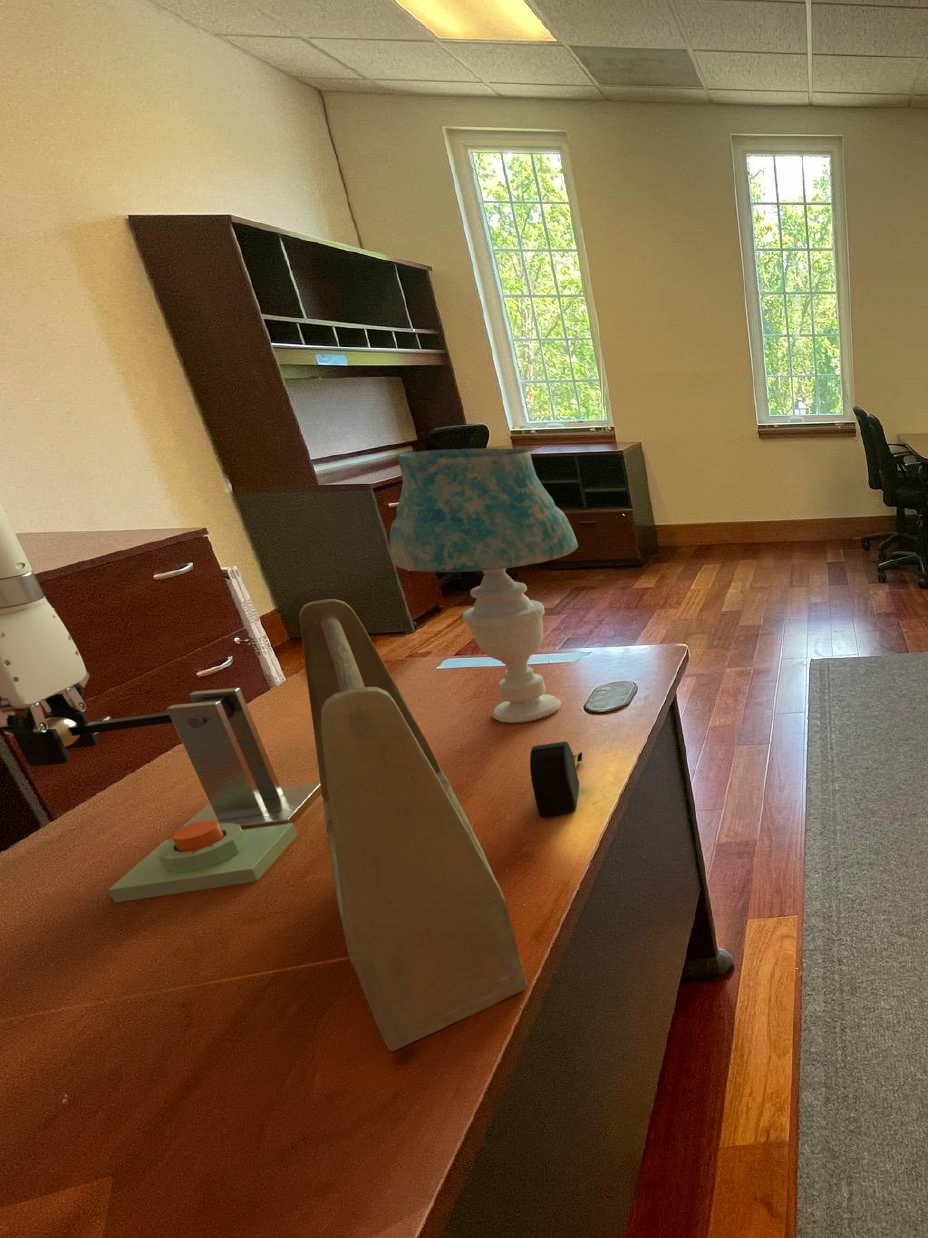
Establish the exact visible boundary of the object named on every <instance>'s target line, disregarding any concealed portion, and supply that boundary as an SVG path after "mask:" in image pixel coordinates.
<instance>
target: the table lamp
mask: <svg viewBox="0 0 928 1238" xmlns="http://www.w3.org/2000/svg"><path fill="white" fill-rule="evenodd" d="M397 461H398V465H399V468H400V473H401V480H402V485H401V493H400V496H399V500H398V504H397V506H396V517H395V519H394V520H393V522H392V523H391V526H390V530H389V553H390V559H391V562H392V565H394V566H396V567H397V568H399V569H403V570H405V571H414V572H421V573H422V572H423V573H466V572H482V573H483V574H484V575H483V577H482V579H481V582H480V585H478V586H475V587H473V588H472V589H470V592H469V593H470V594H469V595H470V597H472V598H473V599H476V600H475V601H474V604H473V606H471V607H470V608H468V609H466V610H464V611H463V613H462V621H463V623H464V624H465V625H466V626H468V627H469V629H470V631H471V633H472V636H473V639H474V641H475V643H476V645H477V646H478V647H479V649H480V650H481V651H482V652H483V653H484V654H485V655H486V656H488V657H490V658H491V659H494V660H497V661H498V662H501V664H503V665H505V667H506V670H505V671H504V673H503V676H504V678H503V679H501V680H500V681H499V682H498V684H497V685H498V690H499V695H500V698H501V699H502V700H503V702H501V703H500V704H497V706H496V707H495V708H494V710H493V712H492V713H491V714H492V717H493V719H494V720H496V721H498V722H501V723H506V724H525V723H530V722H536V721H539V720H541V719H545V718H546V717H545V716H547V717H549V716H551V715H553V714H554V713H556V712H557V711H558V709H560V707H561V706H562V701H561V700H560V699H559V698H558V697H556V696H555V695H552V694H545V693H546V685H545V681H544V678H543V676H542V675H541V674H539V673H534V669H533V668H532V667H531V666H529V665H528V664H529V660H530V658H531V656H533V655H534V654H535V653H536V652H537V651H538V649H539V648H540V646H541V644H542V642H543V639H544V638H543V637H544V628H543V627H544V625H543V616H544V615H545V613H546V611H545V607H544V604H543V603H542V602H540V601H538V600H534V599H530V598H529V597H528V596H527V595H525V592H527V591H528V586H527V585H526V584H525V583H524V582H521V581H519V582H518V581H515V580H514V579H512V578H511V576H510V575H508V573H506V571H507V569H510V568H517V567H524V566H529V565H530V566H531V565H536V564H540V563H545V562H550V561H553V560H556V559H560V558H563V557H566V556H568V555H570V554H572V553H573V552H575V551H576V550H577V549H578V547H579V543H578V540H577V538H576V535H575V532H574V530H573V528H572V526H571V523H570V522H569V519H568V517H567V516H566V515H565V513H564V511H563V510H561V509H560V507H558V506H557V505H556V504H555V501H554V499H553V497H552V496H551V495H550V494H549V492H548V491H547V490H546V489H545V487H544V486H543V484H542V482H541V481H540V479H539V477H538V476H537V473H536V469H535V467H534V464H533V460H532V455H531V453H530V451H529V450H527V449H520V448H496V447H495V448H454V449H453V448H452V449H451V448H450V449H433V450H422V451H421V450H419V451H412V452H405V453H404V452H403V453H399V454H398V460H397ZM556 710H557V711H556ZM555 711H556V712H555ZM550 714H551V715H550ZM543 717H544V718H543ZM540 718H541V719H540ZM537 719H538V720H537ZM533 720H534V721H533Z"/></svg>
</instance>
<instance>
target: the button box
mask: <svg viewBox="0 0 928 1238" xmlns="http://www.w3.org/2000/svg"><path fill="white" fill-rule="evenodd" d="M219 826H220V828H221V830H222V832H223V835H224V837H223V838H222V839H221V840H220V841H218V842H216V843H214V844H212V845H210V846H207V847H204V848H201V849H198V850H194V851H187V852H180V851H179V850H178V848H177V846H176V844H175V842H174V840H173V838H171V839H165V840H163V841H162V842H161V843H160V844H159V845H158V846H157V847H155V848H154V849H153V850H152V851H151V852H150V853H148V854H147V855H146V856H145V857H144V858H143V859H142V860H140V861H139V862H138V863H136V865H135V866H133V867H132V868H131V869H130V870H129V871H128V872H127V873H126V874H124V875H123V876H122V877H121V878H120V879H118V881H116V882H115V883H114V884H113V885H112V886H111V887H109V888H108V893H109V894H110V897H111V898H112V900H113V902H114V903H122V902H129V901H136V900H142V899H150V898H155V897H163V896H169V895H176V894H183V893H189V892H195V891H202V890H208V889H216V888H222V887H229V886H235V885H241V884H248V883H255V882H256V883H257V882H258V881H259V880H260V879H261V878H262V877H263V876H264V874H265V873H266V872H268V870H269V869H270V867H271V866H273V864H274V863H275V862H276V861H277V859H278V858H279V857H280V856H281V855H282V854H283V853H284V851H286V849H287V848H288V846H289V845H291V843H292V842H293V841H294V840H295V839H296V838H297V836H298V833H297V830H296V827H295V824H294V825H293V823H290V824H283V825H275V826H268V827H260V828H253V829H245V830H242V829H241V827H240V825H237V824H231V823H222V824H219Z"/></svg>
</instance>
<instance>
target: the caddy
mask: <svg viewBox="0 0 928 1238" xmlns="http://www.w3.org/2000/svg"><path fill="white" fill-rule="evenodd" d="M299 623H300V632H301V640H302V648H303V649H302V650H303V656H304V666H305V674H306V682H307V683H306V684H307V687H308V688H307V691H308V698H309V704H310V712H311V719H312V726H313V727H312V729H313V735H314V736H313V737H314V743H315V750H316V760H317V766H318V767H317V768H318V775H319V783H320V784H321V797H322V799H323V800H322V803H323V804H322V805H323V811H324V821H325V828H326V829H325V830H326V834H327V844H328V851H329V857H330V863H331V871H332V877H333V882H334V887H335V896H336V902H337V907H338V911H339V917H340V921H341V926H342V930H343V933H344V934H343V935H344V938H345V944H346V950H347V954H348V958H349V961H350V964H351V965H352V967H353V969H354V971H355V974H356V976H357V979H358V982H359V984H360V986H361V989H362V991H363V994H364V997H365V999H366V1001H367V1004H368V1007H369V1009H370V1012H371V1014H372V1017H373V1019H374V1021H375V1022H374V1023H375V1024H376V1026H377V1028H378V1031H379V1033H380V1036H381V1037H382V1040H383V1041H384V1043H385V1045H386V1047H387V1049H388V1051H390V1052H391V1053H393V1052H395V1051H398V1050H400V1049H402V1048H403V1047H406V1046H408V1045H409V1044H412V1043H414V1042H417V1041H418V1040H421V1039H423V1038H425V1037H428V1036H429V1035H432V1034H434V1033H436V1032H438V1031H441V1030H442V1029H445V1028H446V1027H448V1026H451V1025H452V1024H455V1023H457V1022H459V1021H462V1020H464V1019H467V1018H469V1017H472V1016H473V1015H476V1014H478V1013H480V1012H482V1011H485V1010H486V1009H489V1008H491V1007H493V1006H495V1005H496V1004H499V1003H500V1002H503V1001H504V1000H506V999H508V998H510V997H513V996H514V995H517V994H520V993H522V992H524V991H525V990H526V989H527V988H528V981H527V978H526V974H525V971H524V966H523V963H522V960H521V956H520V954H519V952H520V951H519V949H518V945H517V940H516V937H515V936H516V935H515V933H514V928H513V924H512V920H511V916H510V913H509V908H508V905H507V900H506V898H505V896H504V894H503V891H502V888H501V887H500V885H499V883H498V881H497V879H496V877H495V875H494V873H493V870H492V868H491V866H490V864H489V861H488V858H487V857H486V854H485V852H484V850H483V848H482V846H481V845H482V844H481V843H480V841H479V840H478V837H477V835H476V833H475V831H474V829H473V827H472V825H471V823H470V821H469V819H468V817H467V815H466V813H465V811H464V809H463V807H462V805H461V804H460V802H459V799H458V798H457V796H456V794H455V792H454V790H453V788H452V786H451V784H450V782H449V780H448V778H447V777H446V775H445V773H444V771H443V769H442V768H441V766H440V764H439V762H438V760H437V758H436V756H435V754H434V752H433V750H432V748H431V746H430V745H429V742H428V740H427V739H426V737H425V735H424V733H423V732H422V730H421V729H420V726H419V725H418V722H417V721H416V719H415V717H414V715H413V713H412V712H411V710H410V708H409V706H408V704H407V703H406V701H405V698H404V697H403V695H402V693H401V692H400V690H399V688H398V686H397V684H396V682H395V681H394V679H393V677H392V675H391V673H390V671H389V669H388V668H387V666H386V664H385V662H384V660H383V659H382V656H381V654H380V653H379V651H378V649H377V647H376V646H375V644H374V642H373V641H372V639H371V637H370V635H369V634H368V632H367V630H366V628H365V627H364V625H363V623H362V622H361V619H360V618H359V616H358V615H357V614H356V612H355V611H354V610H353V608H352V607H351V606H350V605H349V604H347V603H346V602H345V601H343V600H339V599H336V598H327V599H320V600H315V601H310V602H308V603H306V604H304V605H303V606H302V608H301V609H300V612H299Z"/></svg>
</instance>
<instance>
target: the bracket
mask: <svg viewBox="0 0 928 1238" xmlns="http://www.w3.org/2000/svg"><path fill="white" fill-rule="evenodd" d="M188 696H189V698H190V700H191V702H192V703H181V704H180V703H179V704H171V705H170V706H168V707H167V708H166V712H168V713H169V715H170V717H171V719H172V721H173V726H174V728H175V730H176V732H177V734H178V737H179V739H180V741H181V743H182V745H183V747H184V749H185V752H186V754H187V757H188V758H189V760H190V763H191V764H192V767H193V769H194V771H195V774H196V775H197V777H198V779H199V782H200V784H201V786H202V788H203V791H204V793H205V796H206V797H207V800H208V803H207V804H206V805H205V806H204V807H202V808H201V809H200V810H199V811H198V812H197V813H196V814H194V815H193V816H192V817H191V818H190V819H189V820H187V822H186V823H184V824H183V825H182V826H181V827H179V829H181V828H183V827H185V826H187V825H190V824H193V823H196V822H201V821H208V820H213V821H217V822H218V824H222V823H231V824H237V825H240V827H241V829H242V830H245V829H253V828H260V827H268V826H275V825H283V824H290V823H293V825H294V826H295V824H296V823H297V821H299V819H300V818H301V817H302V816H303V815H304V814H305V812H306V811H307V810H308V809H309V808H310V807H311V806H312V804H314V802H316V800H317V799H318V798H319V797H320V796H321V795H322V793H321V784H320V782H314V783H307V784H299V785H290V786H281V785H280V783H279V780H278V778H277V776H276V773H275V770H274V767H273V766H272V763H271V760H270V758H269V756H268V754H267V751H266V749H265V746H264V744H263V741H262V739H261V736H260V734H259V732H258V729H257V726H256V725H255V721H254V719H253V717H252V715H251V712H250V709H249V708H248V704H247V702H246V700H245V697H244V696H243V694H242V690H241V688H240V687H232V688H230V687H229V688H219V689H208V690H207V689H206V690H198V691H197V690H196V691H192V692H191V693H189V695H188ZM222 697H226V699H227V701H228V703H229V705H230V707H231V709H232V711H233V713H234V716H233V717H231V718H230V719H229V720H228V718H227V716H226V714H225V711H224V709H223V707H222V704H221V702H220V701H212V702H201V703H194V702H196V701H199V700H207V699H215V698H222Z"/></svg>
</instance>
